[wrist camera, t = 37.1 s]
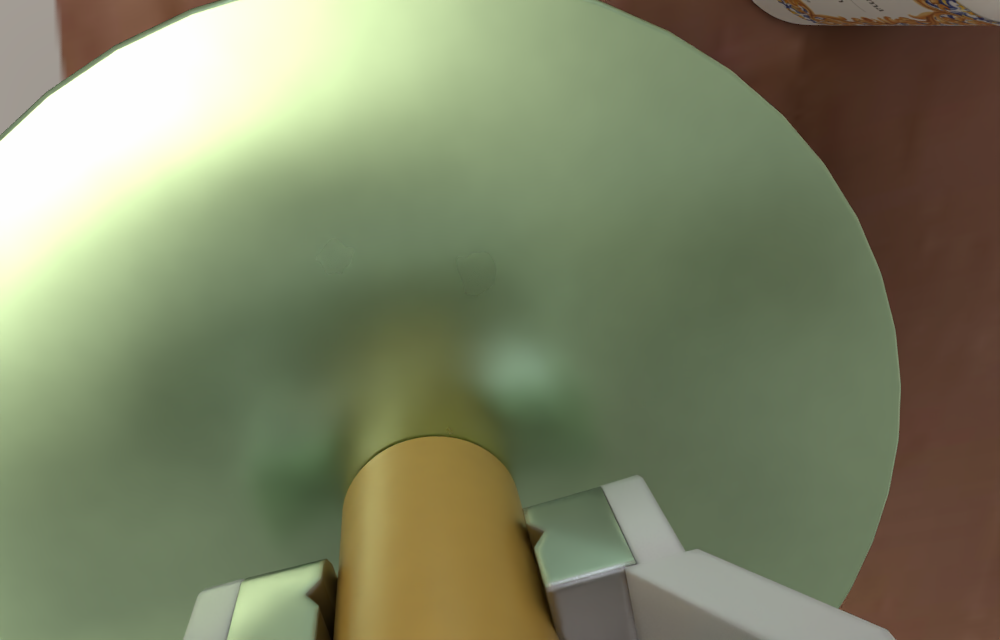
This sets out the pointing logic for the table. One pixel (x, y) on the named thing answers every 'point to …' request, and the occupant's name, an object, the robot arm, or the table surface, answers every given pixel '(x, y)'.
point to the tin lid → (419, 317)
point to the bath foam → (885, 12)
